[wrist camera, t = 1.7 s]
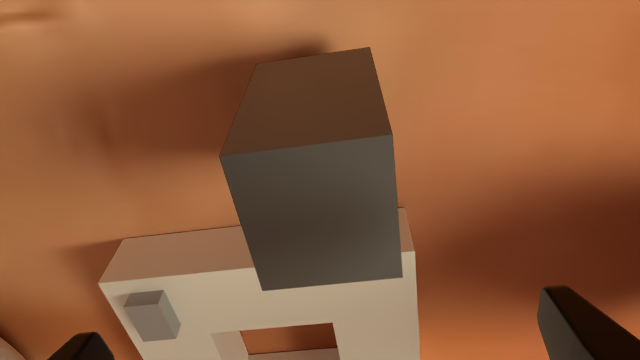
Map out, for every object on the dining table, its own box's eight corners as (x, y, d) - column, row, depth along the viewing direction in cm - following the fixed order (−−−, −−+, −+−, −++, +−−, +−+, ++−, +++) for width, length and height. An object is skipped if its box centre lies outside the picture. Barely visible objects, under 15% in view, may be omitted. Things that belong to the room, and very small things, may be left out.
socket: (404, 207, 21) (418, 264, 18) (415, 380, 29) (425, 442, 25) (123, 238, 22) (89, 297, 19) (204, 396, 30) (190, 456, 27)
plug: (366, 34, 17) (392, 134, 10) (376, 140, 19) (402, 277, 12) (262, 50, 17) (218, 156, 10) (284, 152, 19) (262, 291, 13)
